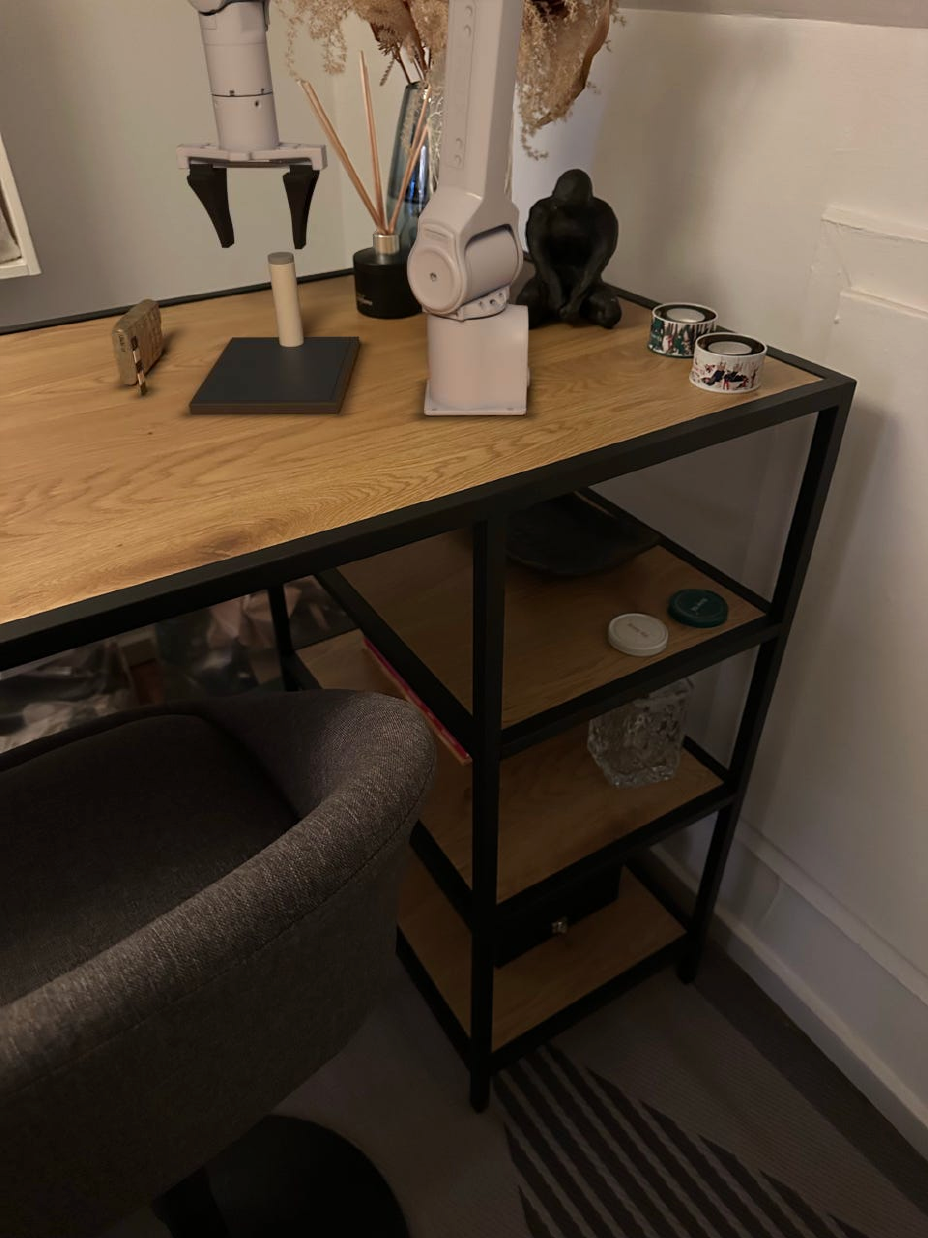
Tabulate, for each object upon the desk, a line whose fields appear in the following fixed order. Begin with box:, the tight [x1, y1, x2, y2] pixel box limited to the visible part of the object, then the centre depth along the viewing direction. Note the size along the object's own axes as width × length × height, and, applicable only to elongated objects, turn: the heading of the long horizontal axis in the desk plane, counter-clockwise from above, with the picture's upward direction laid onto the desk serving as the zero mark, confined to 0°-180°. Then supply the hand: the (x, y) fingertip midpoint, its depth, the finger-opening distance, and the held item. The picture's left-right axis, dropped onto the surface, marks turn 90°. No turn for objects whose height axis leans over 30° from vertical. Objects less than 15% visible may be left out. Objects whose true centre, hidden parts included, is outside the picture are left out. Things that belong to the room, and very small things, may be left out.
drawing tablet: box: [188, 336, 361, 415], centre depth 88 cm, size 14×18×1 cm
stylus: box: [267, 251, 305, 347], centre depth 91 cm, size 3×3×9 cm
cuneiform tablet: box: [110, 298, 164, 397], centre depth 88 cm, size 6×4×12 cm
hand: (264, 246), depth 90 cm, fingers open, 7 cm apart
